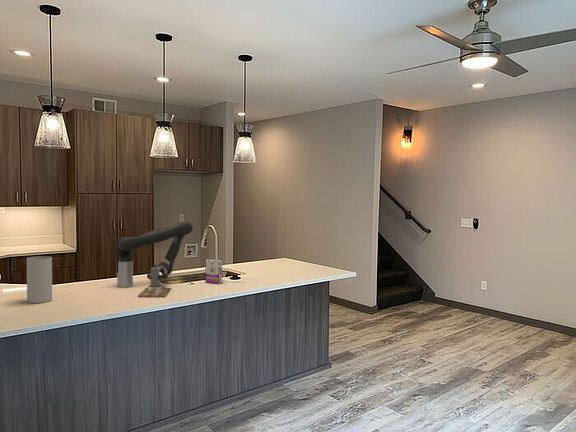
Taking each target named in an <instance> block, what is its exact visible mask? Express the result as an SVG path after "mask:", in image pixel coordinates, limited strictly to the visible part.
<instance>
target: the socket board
mask: <svg viewBox="0 0 576 432" xmlns="http://www.w3.org/2000/svg"><path fill="white" fill-rule="evenodd" d="M170 290H172V288H171V287H164V284H160V287H151V284H149V285H148V286H147V287H145V288H144V289H143V290H142V291H141V292H140V293H139V294H138V296H137V297H138V298H166V297H167V296H168V294H169V293H170V292H171V291H170Z"/></svg>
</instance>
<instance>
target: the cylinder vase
mask: <svg viewBox="0 0 576 432" xmlns="http://www.w3.org/2000/svg"><path fill="white" fill-rule="evenodd" d="M52 300H53V257H52V256H48V255H45V256H44V255H41V256H40V255H39V256H29V257H27V258H26V301H27V303H29V304H44V303H48V302H51V301H52Z"/></svg>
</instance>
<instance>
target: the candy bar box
mask: <svg viewBox="0 0 576 432" xmlns="http://www.w3.org/2000/svg"><path fill="white" fill-rule="evenodd" d="M222 283H223V260H219V259H206V260H205V284H212V285H213V284H214V285H220V284H222Z"/></svg>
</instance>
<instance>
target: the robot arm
mask: <svg viewBox="0 0 576 432" xmlns="http://www.w3.org/2000/svg"><path fill="white" fill-rule="evenodd" d="M193 230H194V229H193V225H192V223H190V222H188V221H181V222H179V224H177V225H173V226H167V227H160V228H156V229H153V230H149V231H147V232H145V233H143V234H141V235H138V236H132V237H127V236H123V237H120V238H119V239H118V240H117V243H116V248H117V249H116V250H117V259H118V260H117V263H118V265H117V269H118V270H117V273H116V276H117V279H116V281H117V282H116V284H117V285H116V287H117V288H131V287H133V285H134V283H133V282H134V280H133V279H134V273H133V272H134V271H133V270H134V257H133V253H132V251H133V250H135V249H138V248H141V247H143V246H147V245H148V246H150V245H152V244H153V245H154V244H157V243H161V242H164V241H167V240H170V239H172V238H173V239H172V240H171V244H170V246H169V248H168V250H167V252H166V254H165V256H164V258H165V260H166V261H168V262H169V263H166V262H164V261H160V262H159V263H158V264H157V267H160V275H159V276H158V280H160V281H161V280H162V279H164V280H165V279H167V278H169V275H171V274H172V273H173V268H174V264H175V261H176V258H177V256H178V254H179V251H180V248H181V243H182V242H183V239H184V237H185V236H186V235H189V234H191V233H192V231H193ZM146 279H148V280H149V281H151V272H150V273H149V272H147V273H146Z"/></svg>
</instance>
